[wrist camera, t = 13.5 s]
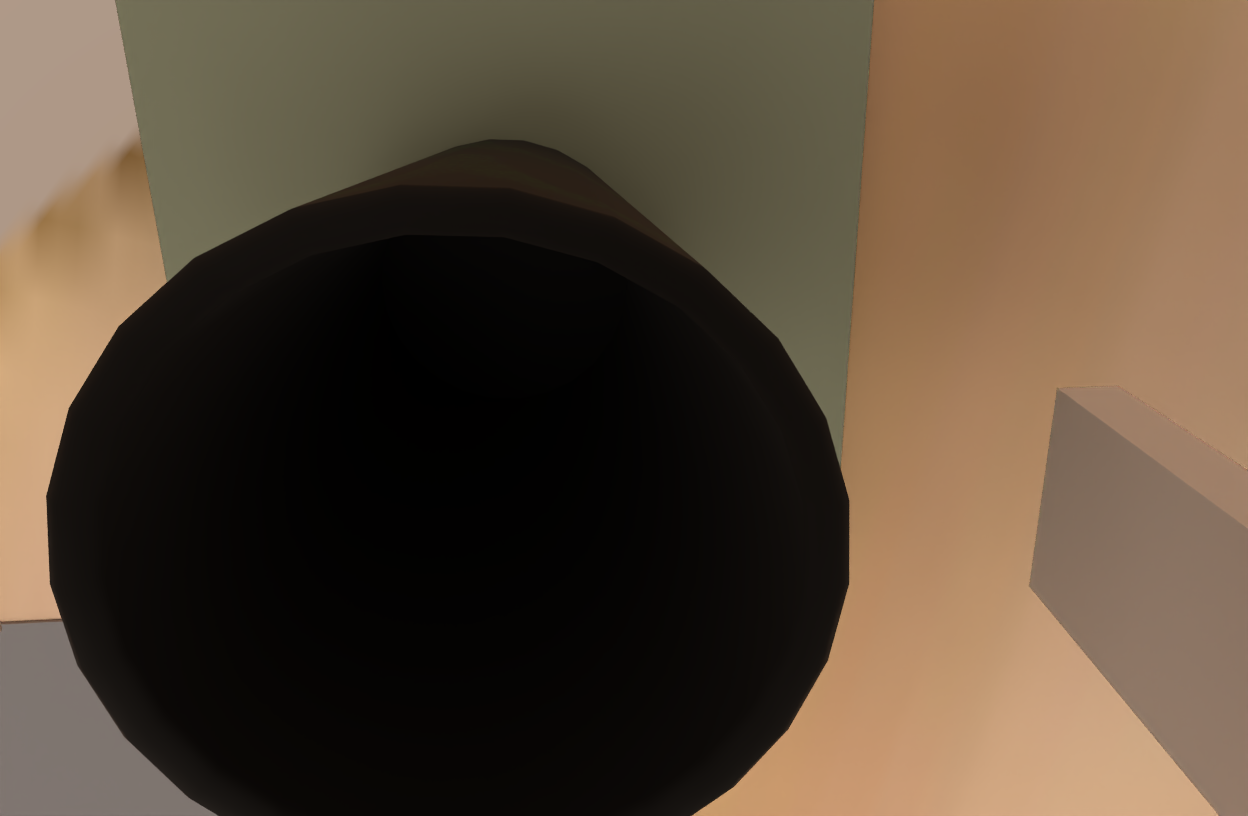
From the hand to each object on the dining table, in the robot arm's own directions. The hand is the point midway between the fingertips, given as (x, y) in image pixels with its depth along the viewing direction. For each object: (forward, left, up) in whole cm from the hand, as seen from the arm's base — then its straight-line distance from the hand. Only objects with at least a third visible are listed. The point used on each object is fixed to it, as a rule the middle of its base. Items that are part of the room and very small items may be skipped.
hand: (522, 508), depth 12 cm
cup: (+1, 0, -10) cm, 10 cm away
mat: (0, 0, -10) cm, 10 cm away
